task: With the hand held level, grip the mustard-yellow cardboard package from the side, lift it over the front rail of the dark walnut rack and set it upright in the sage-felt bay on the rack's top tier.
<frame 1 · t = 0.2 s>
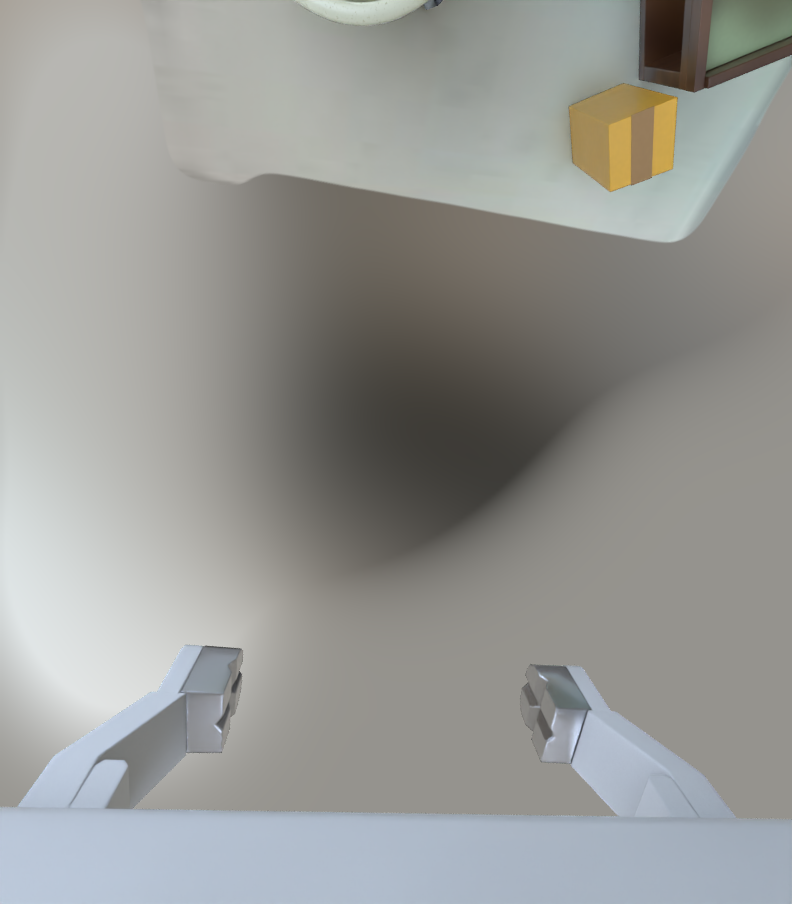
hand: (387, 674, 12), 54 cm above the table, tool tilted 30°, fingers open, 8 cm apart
package: (596, 125, 47), on the table
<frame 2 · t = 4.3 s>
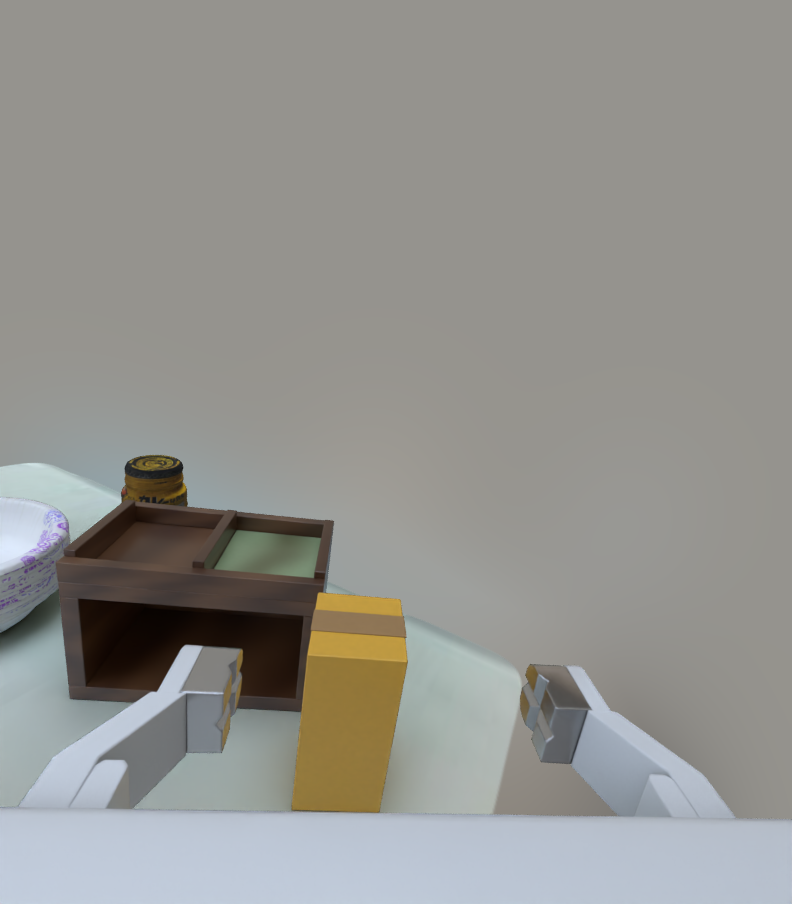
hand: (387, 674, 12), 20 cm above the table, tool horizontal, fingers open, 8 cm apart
rack: (214, 657, 37), on the table
condiment: (157, 569, 48), on the table
package: (338, 768, 30), on the table
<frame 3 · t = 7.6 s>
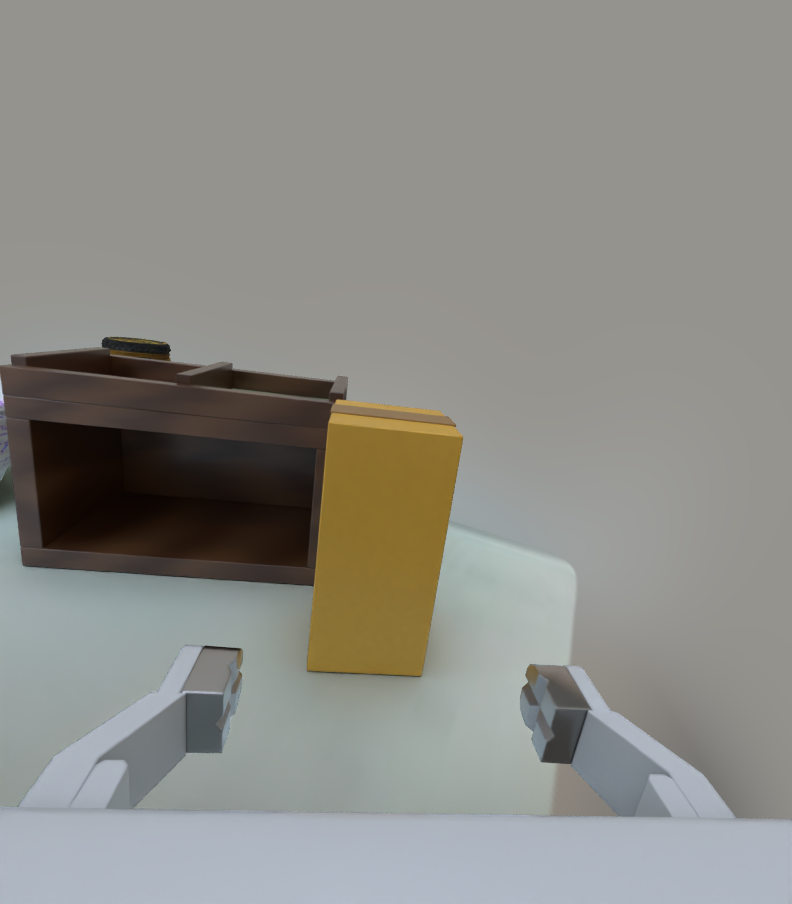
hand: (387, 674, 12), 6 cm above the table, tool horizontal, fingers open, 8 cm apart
rack: (206, 539, 31), on the table
condiment: (141, 472, 41), on the table
package: (364, 634, 23), on the table
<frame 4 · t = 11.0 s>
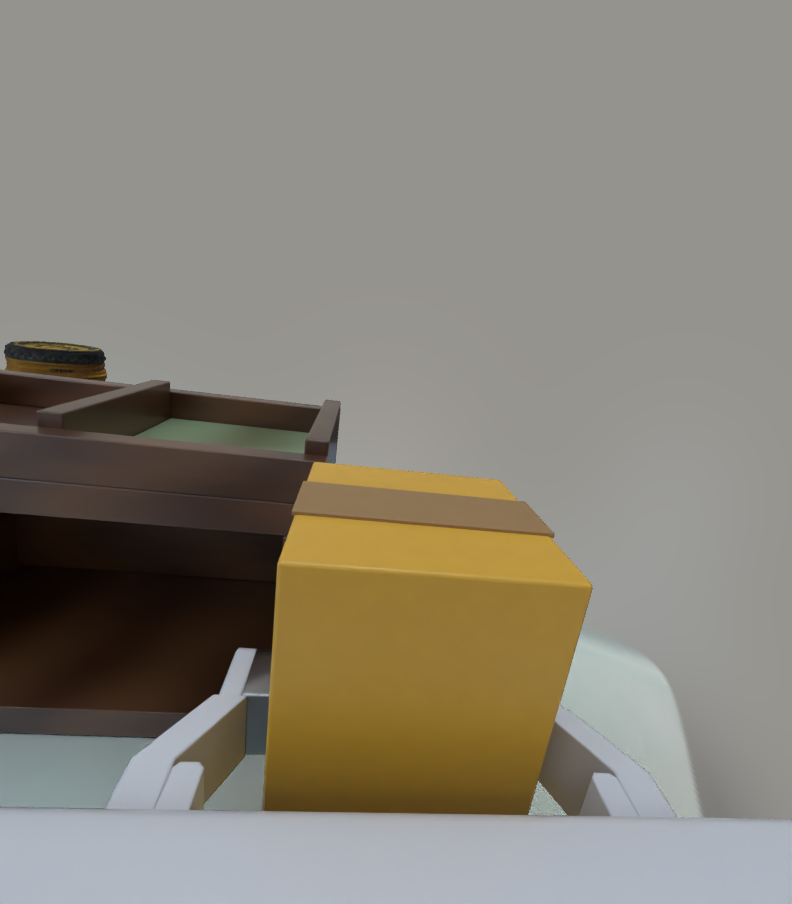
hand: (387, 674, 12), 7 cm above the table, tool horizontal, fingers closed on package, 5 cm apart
rack: (128, 643, 21), on the table
condiment: (69, 520, 31), on the table
package: (364, 872, 13), on the table, touching gripper
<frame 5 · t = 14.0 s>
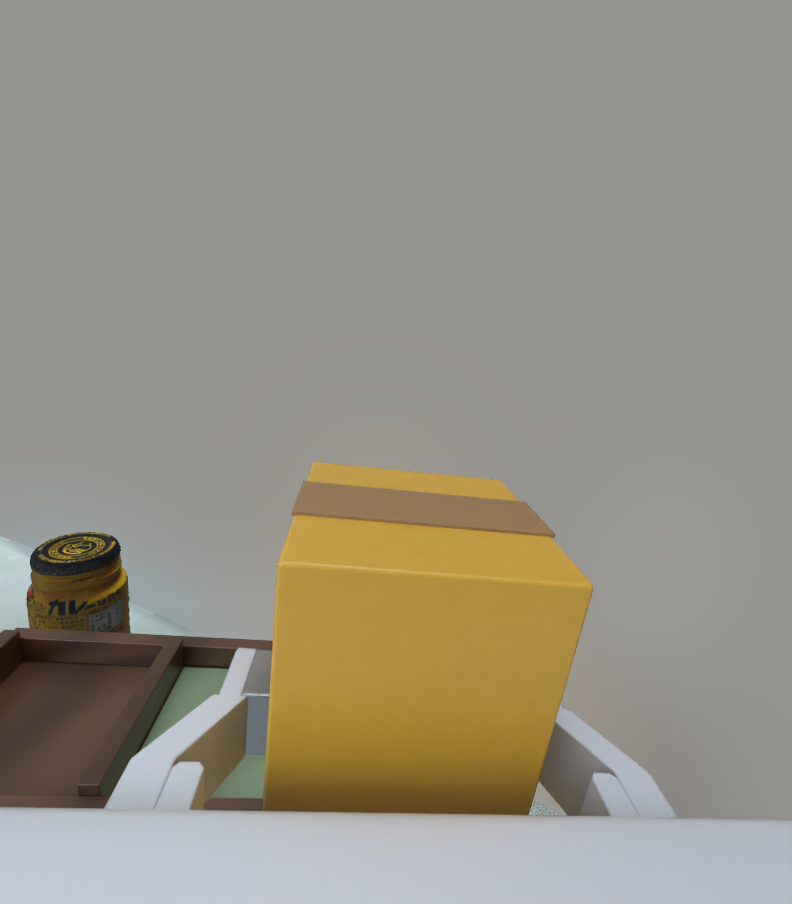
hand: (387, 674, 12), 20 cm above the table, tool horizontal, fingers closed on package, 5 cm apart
rack: (148, 878, 23), on the table
condiment: (87, 693, 34), on the table
package: (364, 873, 13), point 14 cm above the table, touching gripper
when the fingers open (17 cm above the table, at t = 17.5 s): package stays where it is, resting on rack.
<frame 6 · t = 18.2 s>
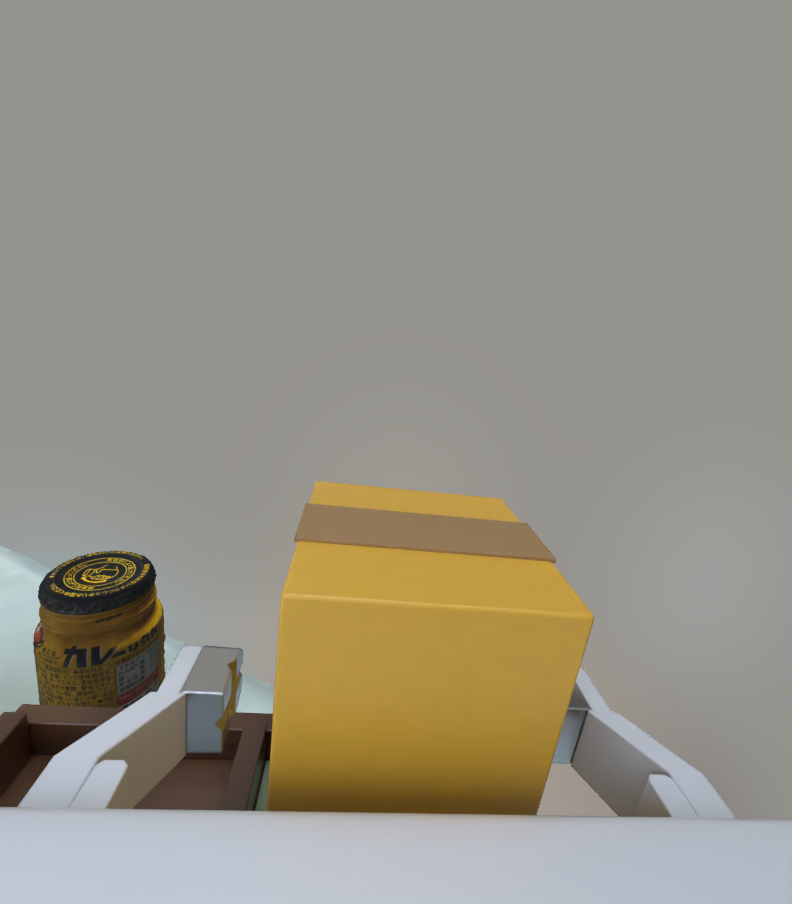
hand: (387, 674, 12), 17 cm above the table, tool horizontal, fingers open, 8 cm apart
condiment: (111, 758, 26), on the table
package: (366, 889, 13), point 10 cm above the table, touching rack
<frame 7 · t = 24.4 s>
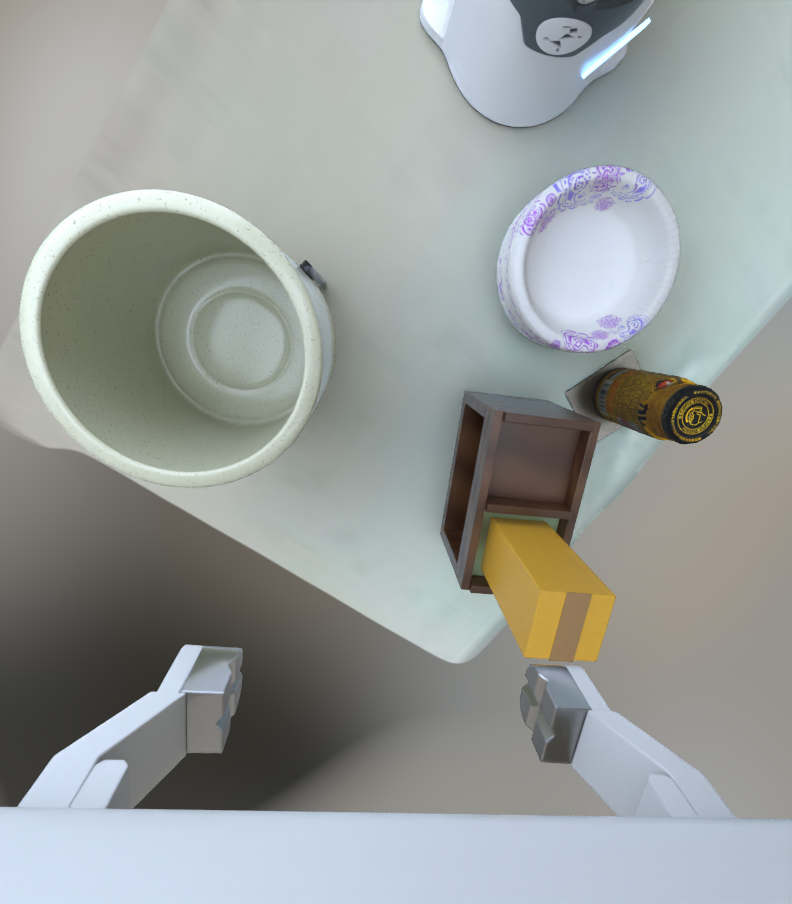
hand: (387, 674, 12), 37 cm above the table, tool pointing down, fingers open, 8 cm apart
rack: (492, 469, 51), on the table
planter: (269, 336, 45), on the table
condiment: (609, 397, 50), on the table
paper bowls: (558, 273, 45), on the table
package: (513, 545, 42), point 10 cm above the table, touching rack
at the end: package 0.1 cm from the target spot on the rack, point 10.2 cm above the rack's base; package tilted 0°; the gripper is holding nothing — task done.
